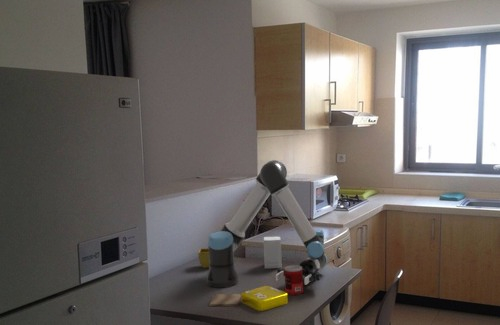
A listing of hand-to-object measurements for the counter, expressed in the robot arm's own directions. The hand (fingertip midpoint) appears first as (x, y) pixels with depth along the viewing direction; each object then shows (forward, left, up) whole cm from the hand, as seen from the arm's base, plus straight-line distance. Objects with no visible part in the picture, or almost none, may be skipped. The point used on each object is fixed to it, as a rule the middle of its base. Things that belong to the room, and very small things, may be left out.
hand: (290, 279), depth 207 cm
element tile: (-11, -9, -7) cm, 16 cm away
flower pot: (-45, +46, -7) cm, 64 cm away
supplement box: (-10, +45, -7) cm, 47 cm away
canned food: (+1, +3, -7) cm, 7 cm away
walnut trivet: (-28, -7, -6) cm, 29 cm away
